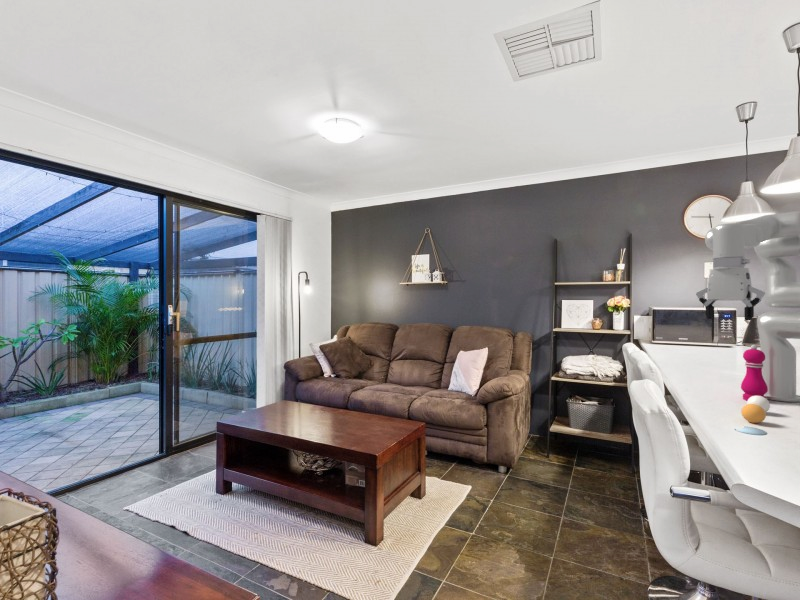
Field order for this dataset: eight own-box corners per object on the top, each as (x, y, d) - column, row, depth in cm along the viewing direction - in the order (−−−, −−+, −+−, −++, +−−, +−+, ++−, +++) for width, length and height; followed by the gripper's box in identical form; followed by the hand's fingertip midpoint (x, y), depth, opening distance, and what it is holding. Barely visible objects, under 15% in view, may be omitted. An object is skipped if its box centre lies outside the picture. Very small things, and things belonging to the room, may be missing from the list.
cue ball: (751, 409, 133) (750, 392, 133) (772, 413, 128) (772, 396, 128) (744, 412, 130) (744, 395, 130) (766, 416, 125) (766, 398, 125)
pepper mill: (773, 402, 140) (773, 345, 140) (752, 403, 140) (752, 346, 140) (755, 397, 147) (755, 343, 147) (735, 397, 148) (735, 343, 147)
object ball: (745, 418, 123) (745, 400, 123) (768, 423, 118) (768, 404, 118) (738, 421, 120) (738, 403, 120) (761, 426, 115) (761, 407, 115)
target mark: (738, 425, 117) (738, 424, 117) (770, 431, 111) (770, 431, 111) (728, 429, 114) (728, 428, 114) (760, 436, 108) (760, 435, 108)
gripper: (769, 262, 118) (770, 320, 118) (702, 266, 133) (702, 317, 133) (758, 261, 114) (759, 321, 115) (690, 265, 129) (691, 318, 130)
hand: (728, 319), depth 124 cm, fingers open, 9 cm apart
